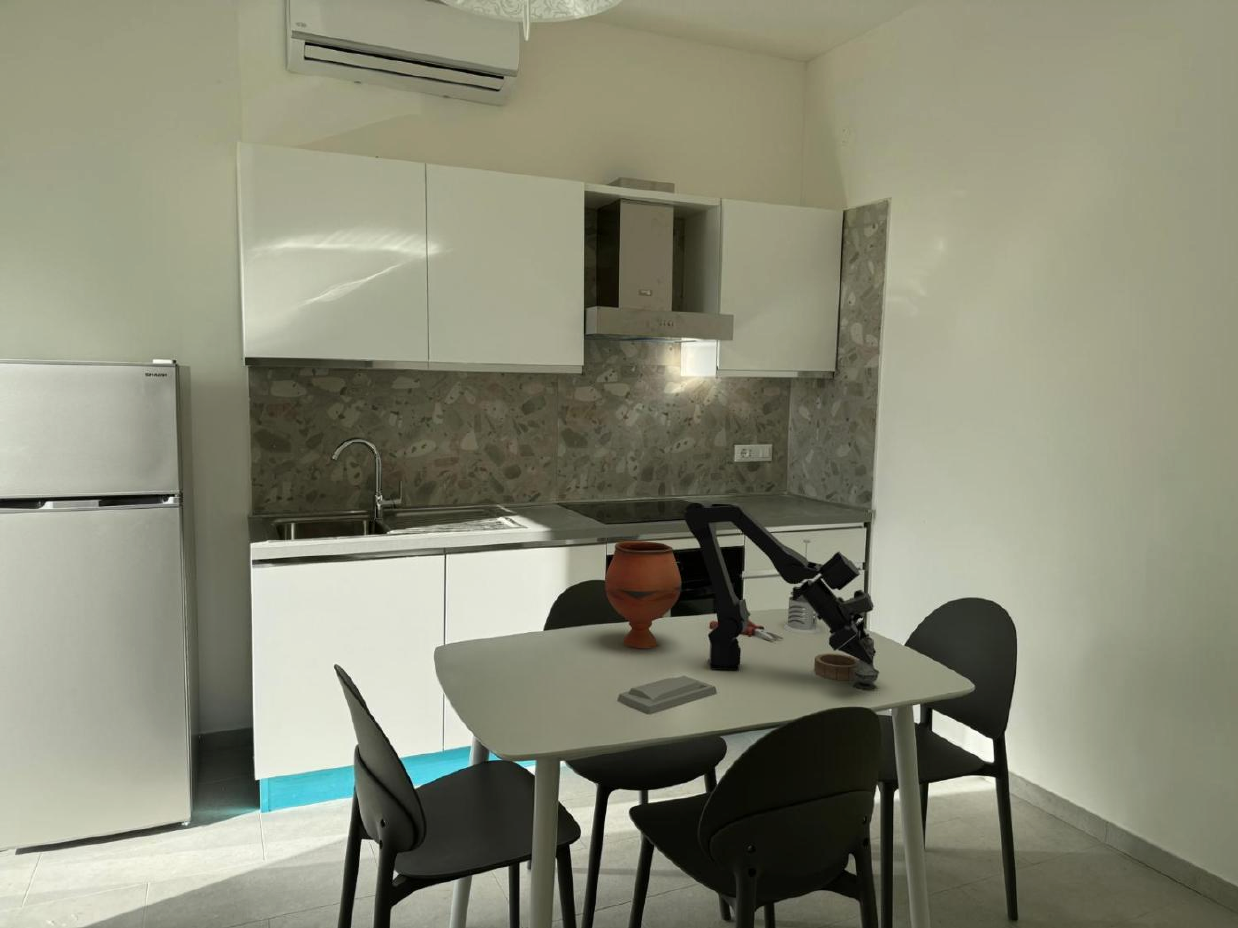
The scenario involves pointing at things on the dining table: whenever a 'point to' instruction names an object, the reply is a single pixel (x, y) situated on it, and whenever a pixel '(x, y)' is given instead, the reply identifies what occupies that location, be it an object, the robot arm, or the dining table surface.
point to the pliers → (753, 631)
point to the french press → (796, 608)
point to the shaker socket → (835, 666)
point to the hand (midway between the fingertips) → (873, 658)
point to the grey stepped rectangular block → (666, 694)
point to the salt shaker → (866, 669)
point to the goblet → (642, 587)
